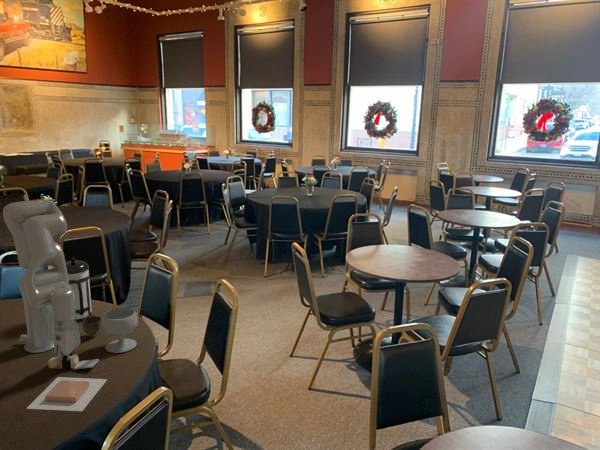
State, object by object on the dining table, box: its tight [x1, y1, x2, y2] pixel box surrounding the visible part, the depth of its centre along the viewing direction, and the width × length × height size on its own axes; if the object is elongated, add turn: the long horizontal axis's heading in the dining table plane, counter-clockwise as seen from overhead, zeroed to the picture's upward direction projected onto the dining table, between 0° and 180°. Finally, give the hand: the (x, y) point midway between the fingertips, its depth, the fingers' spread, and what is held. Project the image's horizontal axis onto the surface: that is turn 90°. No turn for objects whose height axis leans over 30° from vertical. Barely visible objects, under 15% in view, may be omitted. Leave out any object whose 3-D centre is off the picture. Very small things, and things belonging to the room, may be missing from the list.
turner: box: [47, 354, 100, 371], centre depth 165 cm, size 17×5×4 cm, turn 88°
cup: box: [81, 315, 102, 338], centre depth 192 cm, size 8×7×8 cm
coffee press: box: [65, 256, 93, 320], centre depth 205 cm, size 17×16×30 cm
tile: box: [45, 380, 89, 402], centre depth 149 cm, size 10×2×9 cm
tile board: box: [25, 376, 108, 412], centre depth 150 cm, size 18×18×2 cm
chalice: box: [100, 307, 139, 354], centre depth 183 cm, size 14×14×15 cm
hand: (68, 366), depth 166 cm, fingers closed on turner
